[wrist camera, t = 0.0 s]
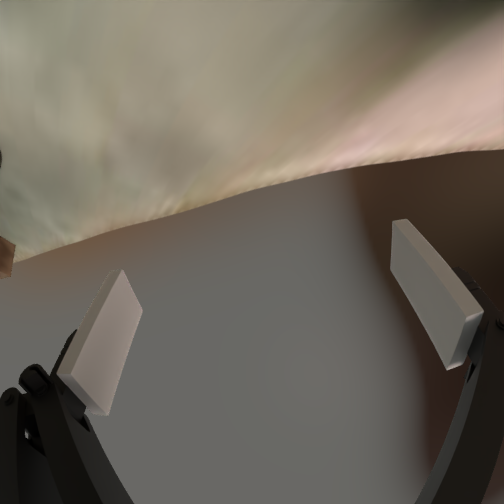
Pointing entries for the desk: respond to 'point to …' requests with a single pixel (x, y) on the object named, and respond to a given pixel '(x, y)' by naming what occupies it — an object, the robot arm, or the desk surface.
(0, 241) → the plinth
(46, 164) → the desk surface
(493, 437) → the robot arm
